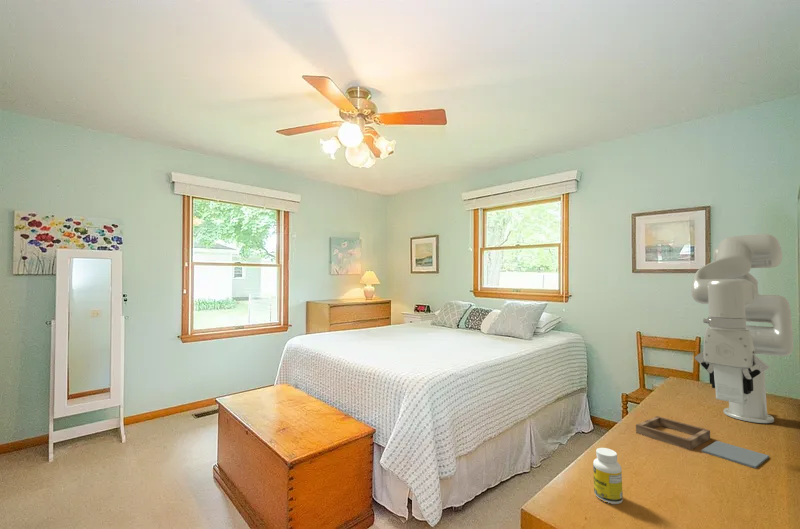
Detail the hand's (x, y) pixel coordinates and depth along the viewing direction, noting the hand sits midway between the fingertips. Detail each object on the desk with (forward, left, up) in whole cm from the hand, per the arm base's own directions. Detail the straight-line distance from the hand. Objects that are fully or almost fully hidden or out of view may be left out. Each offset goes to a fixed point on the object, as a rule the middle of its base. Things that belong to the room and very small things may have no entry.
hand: (731, 389), depth 99 cm
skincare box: (0, 0, -3) cm, 3 cm away
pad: (0, 0, -17) cm, 17 cm away
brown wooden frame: (0, -15, -17) cm, 23 cm away
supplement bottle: (+49, -8, -18) cm, 53 cm away
